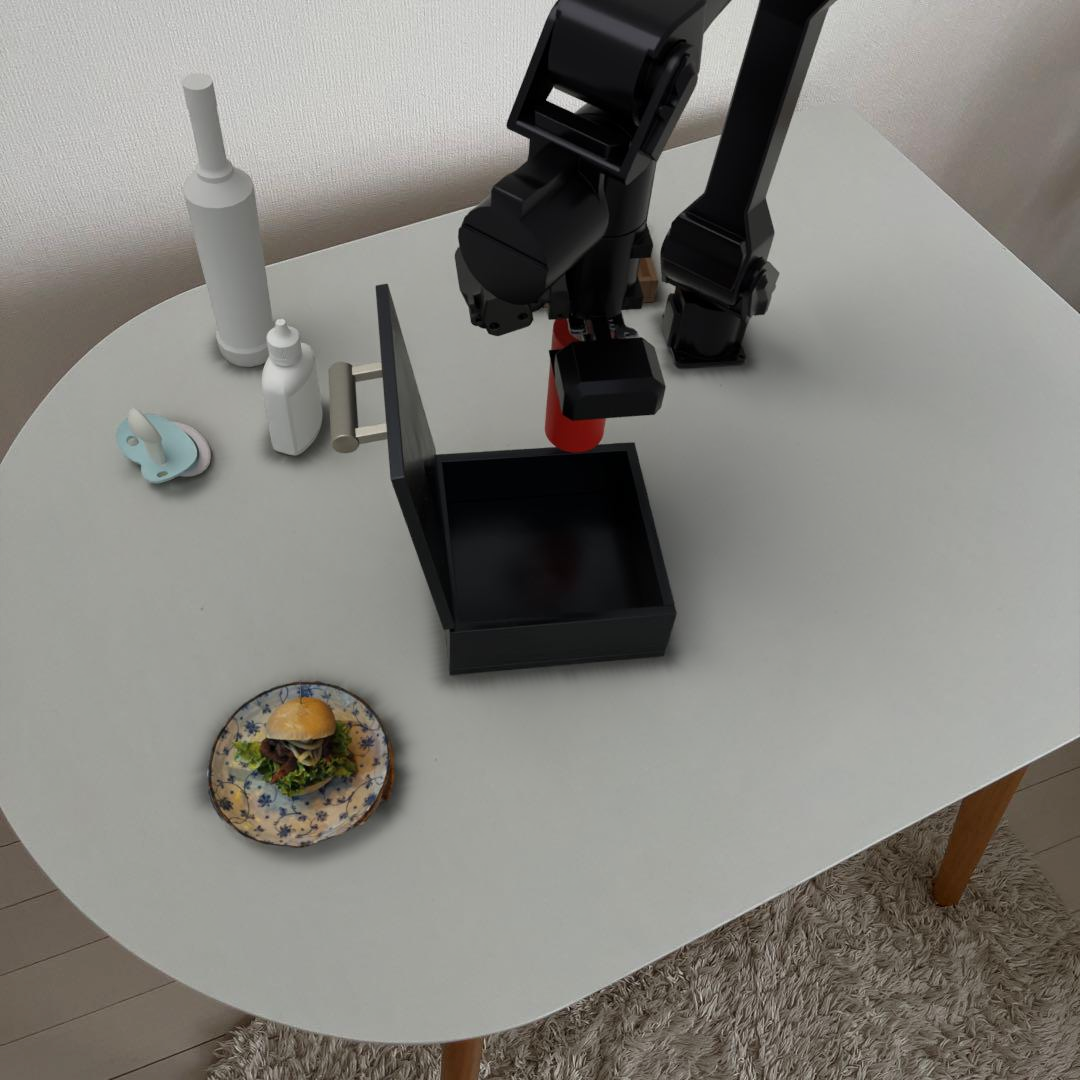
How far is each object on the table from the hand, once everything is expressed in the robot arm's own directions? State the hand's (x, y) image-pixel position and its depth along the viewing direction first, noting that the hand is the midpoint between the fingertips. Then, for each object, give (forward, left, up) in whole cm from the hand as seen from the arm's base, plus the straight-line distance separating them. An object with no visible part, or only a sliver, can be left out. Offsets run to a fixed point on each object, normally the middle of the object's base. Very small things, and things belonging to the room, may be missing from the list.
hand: (577, 387), depth 78 cm
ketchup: (0, 0, -5) cm, 5 cm away
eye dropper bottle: (+21, -9, -13) cm, 26 cm away
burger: (+21, +21, -13) cm, 32 cm away
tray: (-5, -28, -13) cm, 31 cm away
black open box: (+3, +7, -13) cm, 15 cm away
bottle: (+25, -19, -13) cm, 34 cm away
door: (+11, +7, +2) cm, 14 cm away
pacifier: (+31, -7, -13) cm, 34 cm away
